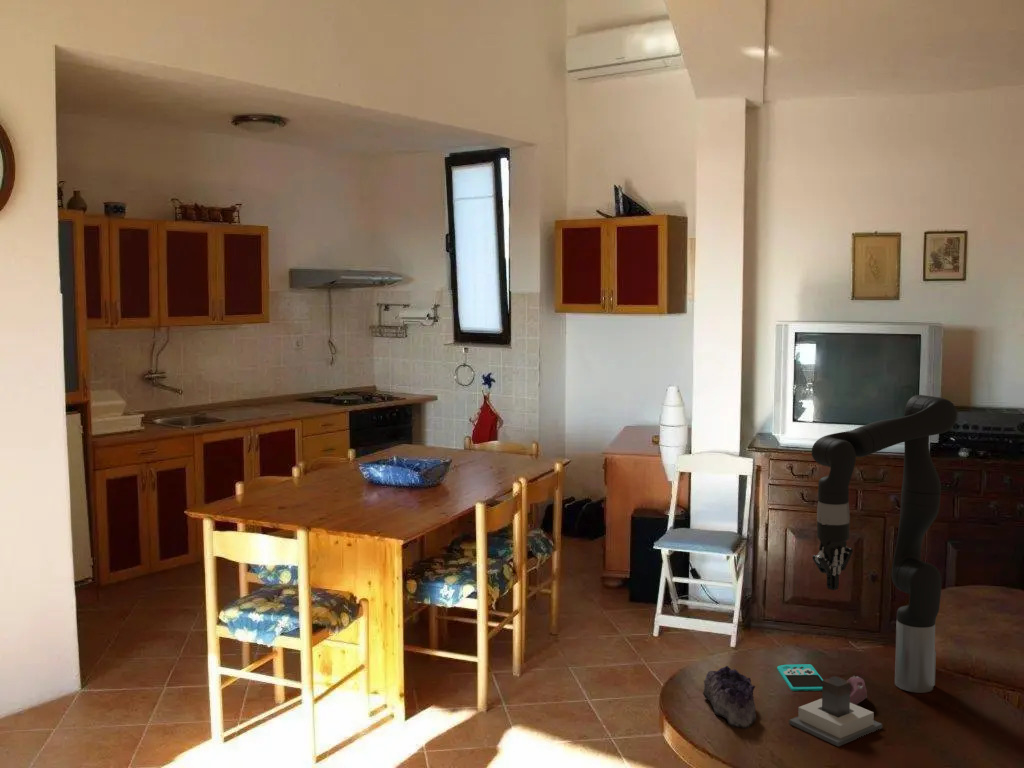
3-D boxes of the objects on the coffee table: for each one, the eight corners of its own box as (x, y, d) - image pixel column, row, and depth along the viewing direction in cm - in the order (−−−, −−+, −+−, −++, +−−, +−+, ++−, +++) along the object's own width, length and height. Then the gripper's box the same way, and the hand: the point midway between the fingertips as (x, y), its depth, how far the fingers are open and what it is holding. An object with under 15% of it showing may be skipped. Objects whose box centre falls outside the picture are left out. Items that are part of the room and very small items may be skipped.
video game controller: (858, 715, 240) (872, 691, 239) (841, 706, 240) (855, 682, 239) (851, 698, 250) (865, 675, 248) (835, 690, 250) (848, 667, 249)
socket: (833, 706, 241) (833, 691, 241) (882, 728, 230) (882, 711, 229) (789, 723, 233) (789, 707, 232) (838, 746, 221) (838, 729, 220)
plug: (833, 716, 234) (834, 676, 233) (849, 723, 230) (850, 682, 229) (821, 721, 232) (822, 680, 230) (837, 727, 228) (838, 686, 227)
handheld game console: (812, 668, 267) (812, 663, 267) (830, 692, 251) (830, 687, 251) (775, 668, 267) (775, 663, 267) (791, 693, 251) (791, 688, 251)
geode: (773, 728, 231) (769, 688, 229) (726, 737, 230) (721, 697, 228) (744, 689, 251) (740, 652, 249) (700, 697, 250) (696, 661, 248)
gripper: (837, 512, 244) (837, 579, 246) (802, 521, 236) (802, 590, 238) (863, 518, 238) (862, 587, 240) (828, 527, 230) (828, 598, 232)
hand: (832, 588), depth 239 cm, fingers closed
